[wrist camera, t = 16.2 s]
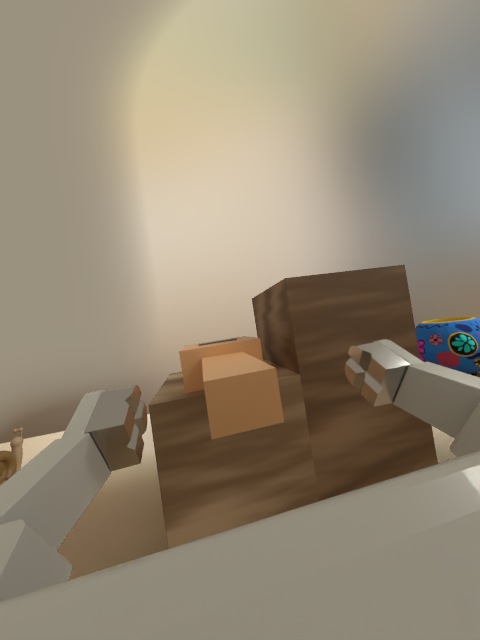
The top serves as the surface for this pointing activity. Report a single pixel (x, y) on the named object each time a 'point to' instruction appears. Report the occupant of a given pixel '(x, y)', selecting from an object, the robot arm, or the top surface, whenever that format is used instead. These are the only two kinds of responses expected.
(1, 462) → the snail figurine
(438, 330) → the ceramic pot
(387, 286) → the stepped stand
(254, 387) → the tan flat block
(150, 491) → the top surface
